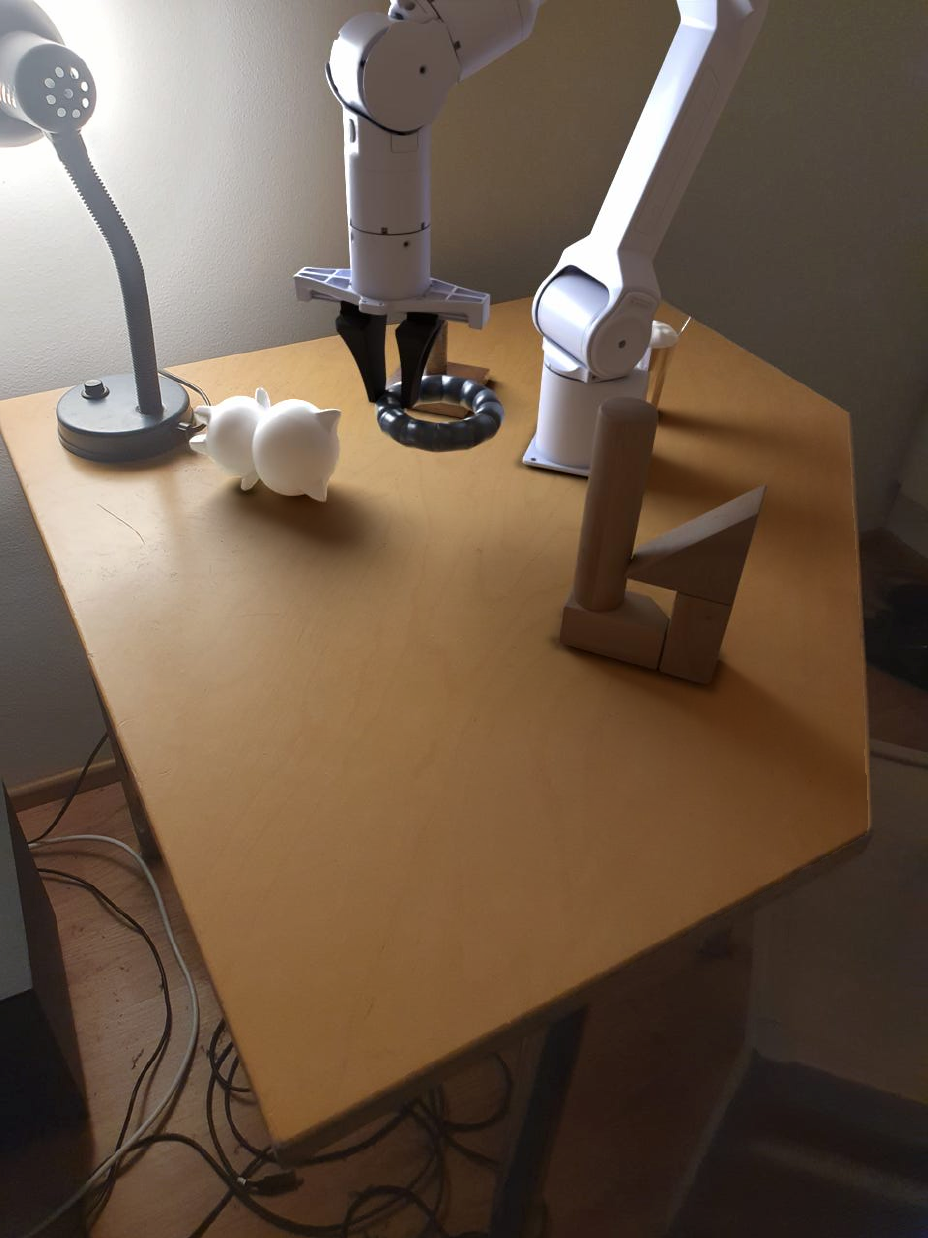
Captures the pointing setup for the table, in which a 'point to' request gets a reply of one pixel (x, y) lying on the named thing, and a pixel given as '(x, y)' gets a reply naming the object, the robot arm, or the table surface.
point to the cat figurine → (272, 443)
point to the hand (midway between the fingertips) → (393, 400)
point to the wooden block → (651, 559)
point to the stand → (441, 367)
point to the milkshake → (659, 358)
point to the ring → (444, 433)
